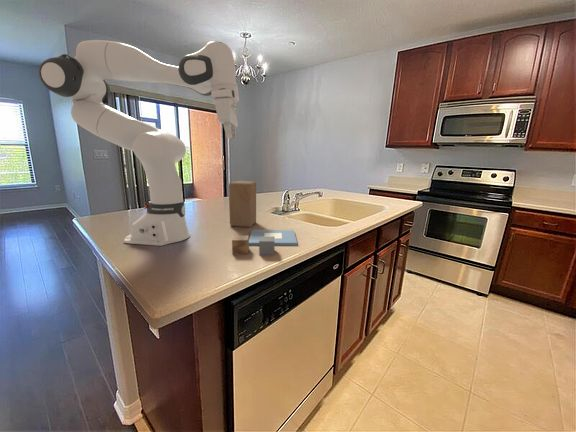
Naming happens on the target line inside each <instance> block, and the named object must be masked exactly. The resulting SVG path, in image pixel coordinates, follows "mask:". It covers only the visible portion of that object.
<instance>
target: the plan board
mask: <svg viewBox="0 0 576 432" xmlns="http://www.w3.org/2000/svg"><path fill="white" fill-rule="evenodd" d="M260 237H275V245H274V246H298V242H297V237H296V233H295V230H294V229H251V232H250V235H249V246H259V240H260Z"/></svg>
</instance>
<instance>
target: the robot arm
mask: <svg viewBox="0 0 576 432" xmlns="http://www.w3.org/2000/svg"><path fill="white" fill-rule="evenodd" d="M75 54H76V55H75V56H72V55H70V54H68V53H64V54H61V55H59V56H56V57H50V58H46V59H45V60H43V61H42V62H41V64H40V65H39V67H38V75H39V76H38V77H39V79H40V81H41V83H42V84H43V86H44V87H45V88H46V89H47V90H49V91H51V93H54V94H55V95H58V96H60V97H63V98H67V99H71V102H72V106H71V110H70V114H71V118H72V120H73V121H74V123H76V124H77V126H80V127H81V128H83V129H85V130H86V131H88V132H89V133H91V134H93V135H94V136H96V137H98V138H100V139H103V140H105V141H106V142H109V143H112V144H114V145H116V146H118V147H120V148H122V149H125V150H128V151H132V152H133V154H134V156H135V157H136V158H137V159H138V160H139V161H140V163H141V165H142V168H143V170H144V173H145V176H146V178H147V184H148V191H149V199H150V202H148V203H147V204H146V205H144V206H143V207H144V208H143V210H145V209H146V212H145V213H144V214H142V216H140V217H139V218H138V219H137V220H135V221H134V222H133V223H132V224H131V229H130V234H128V235H126V237H125V238H124V244H134V245H135V244H136V245H145V246H147V245H148V246H161V247H162V246H166V245H168V244H172V243H173V244H174V243H177V242H181V241H185V240H186V239H188V238H189V237H190V236H191V234H190V231H189V229H188V225H187V222H186V206H185V201H184V198H183V185H182V184H183V182H182V179H181V177H179V174H178V171H177V167H176V164H177V163H179V162H180V161H181V160H183V159H184V158H185V156H186V153H187V148H186V145H185V143H184V142H183V141H182V140H181V139H180V138H179V137H177V136H175V135H174V134H172V133H169V132H167V131H165V130H163V129H160V128H158V127H155V126H153V125H150V124H148V123H145V122H144V121H141V120H138V119H136V118H134V117H132V116H129V115H128V114H125V113H123V112H121V111H119V110H117V109H115V108H113V107H110V106H109V100H110V98H111V87H110V84H109V82H108V81H107V80H109V79H111V80H114V81H115V80H116V81H121V82H122V81H123V82H136V83H139V82H141V83H153V84H154V83H157V84H165V85H171V86H177V87H183V88H187V89H191V90H192V91H194V92H196V94H197V93H198V94H199V95H201V96H203V97H209V96H211V98H212V100H213V101H212V102H213V103H214V105H215V111H216V116H217V119H218V121H219V123H221V124H222V125H223V129H224V132H225V138H227V139H231V140H236V139H237V137H236V133H237V132H236V131H237V130H236V128H238V127H239V122H238V117H237V110H236V108H237V104H238V103H239V102H240V96H239V86H238V83H237V80H236V78H237V77H236V76H237V71H236V64H235V58H234V54H233V51H232V49H231V47H229V45H228V44H226V43H224V42H221V41H217V40H212V41H209V42H207V43H206V45H205V46H204V47H203V48H201V49H200V50H198V51H196V52H194V53H190V54H185V55H184V56H182V58H180V60H179V63H178V66H176V65H171V64H166V63H163V62H160V61H159V60H157V59H154V58H153V57H152V56H150V55H149V54H147V53H145V52H143V51H142V50H140V49H139V48H137V47H135V46H132V45H130V44H126V43H123V42H119V41H112V40H103V39H90V40H83V41H80V42H78V44H77V46H76V49H75Z"/></svg>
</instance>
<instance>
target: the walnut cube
mask: <svg viewBox="0 0 576 432" xmlns="http://www.w3.org/2000/svg"><path fill="white" fill-rule="evenodd" d="M249 239H250V235H239V234H238V235H234V236H233V237H232V239H231V248H232V250H231V251H232V252H231V253H232V255H248V253H249V249H250V245H249Z"/></svg>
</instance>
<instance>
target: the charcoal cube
mask: <svg viewBox="0 0 576 432" xmlns="http://www.w3.org/2000/svg"><path fill="white" fill-rule="evenodd" d="M275 246H276V245H275V237H260V240H259V245H258V248H259V249H258V251H259V252H258V253H259V254H258V255H259V256H275Z"/></svg>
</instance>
